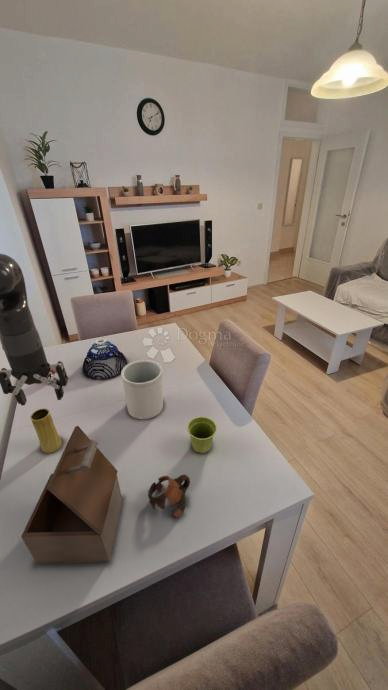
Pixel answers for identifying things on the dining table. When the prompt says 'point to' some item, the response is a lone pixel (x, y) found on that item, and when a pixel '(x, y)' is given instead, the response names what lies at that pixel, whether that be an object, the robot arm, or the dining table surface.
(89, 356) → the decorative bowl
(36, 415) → the vase
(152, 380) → the utensil holder
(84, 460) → the lid
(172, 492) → the brown plush toy
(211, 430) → the plant pot
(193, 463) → the dining table surface
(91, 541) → the chest
